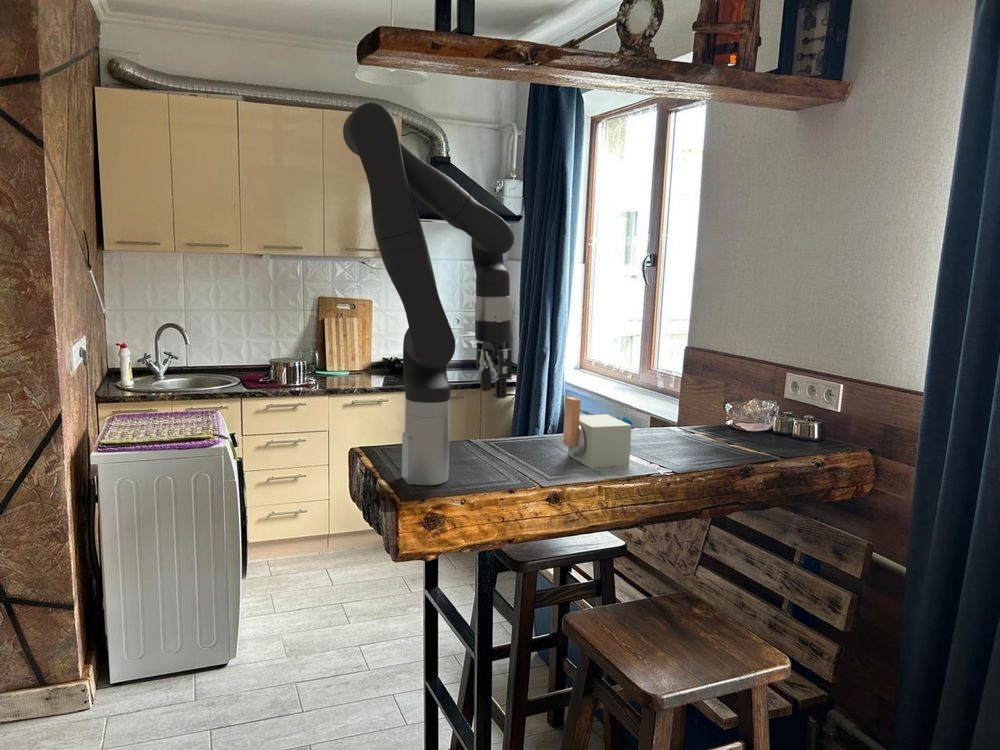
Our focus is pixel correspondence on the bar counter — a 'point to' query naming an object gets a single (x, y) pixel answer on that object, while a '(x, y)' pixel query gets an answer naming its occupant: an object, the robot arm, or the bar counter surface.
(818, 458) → the bar counter surface
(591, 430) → the block
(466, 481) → the bar counter surface
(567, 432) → the wood and metal l-shape
